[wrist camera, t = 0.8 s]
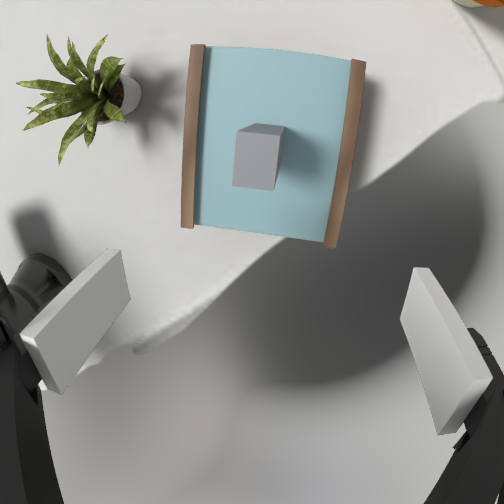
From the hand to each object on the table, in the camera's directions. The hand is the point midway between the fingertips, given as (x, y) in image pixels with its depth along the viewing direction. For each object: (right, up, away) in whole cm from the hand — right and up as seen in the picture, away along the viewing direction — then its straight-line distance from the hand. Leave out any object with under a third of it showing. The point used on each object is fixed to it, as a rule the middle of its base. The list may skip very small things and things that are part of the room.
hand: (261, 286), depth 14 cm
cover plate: (+1, +13, +19) cm, 23 cm away
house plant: (-17, +24, +23) cm, 37 cm away
